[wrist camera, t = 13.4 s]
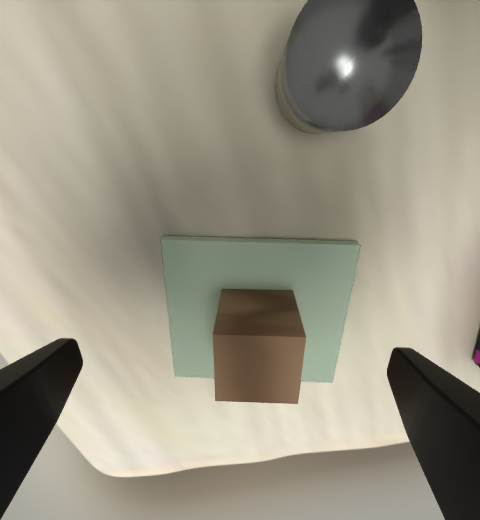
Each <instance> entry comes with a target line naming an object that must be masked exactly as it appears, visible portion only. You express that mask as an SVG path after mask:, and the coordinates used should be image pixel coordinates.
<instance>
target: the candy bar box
mask: <svg viewBox="0 0 480 520" xmlns="http://www.w3.org/2000/svg"><path fill="white" fill-rule="evenodd" d="M474 363H475V364H476V365H478V366H479V367H480V338H479V342H478V346H477V350H476V354H475V358H474Z"/></svg>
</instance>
